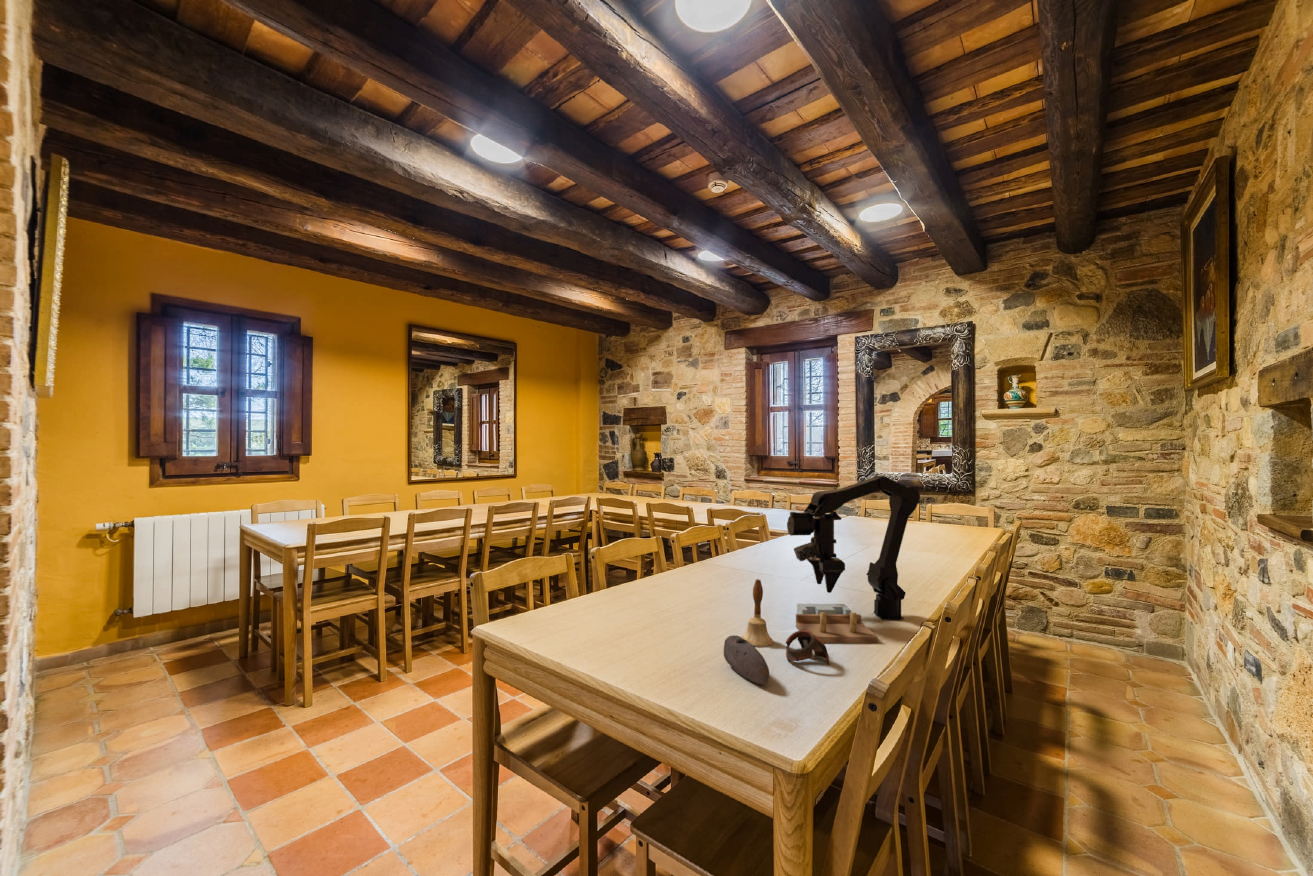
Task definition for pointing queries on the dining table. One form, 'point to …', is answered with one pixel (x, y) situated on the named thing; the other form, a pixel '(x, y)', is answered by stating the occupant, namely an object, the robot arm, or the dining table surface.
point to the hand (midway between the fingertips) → (823, 588)
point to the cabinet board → (836, 627)
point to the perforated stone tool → (746, 659)
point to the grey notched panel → (822, 608)
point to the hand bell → (757, 621)
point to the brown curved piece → (806, 646)
